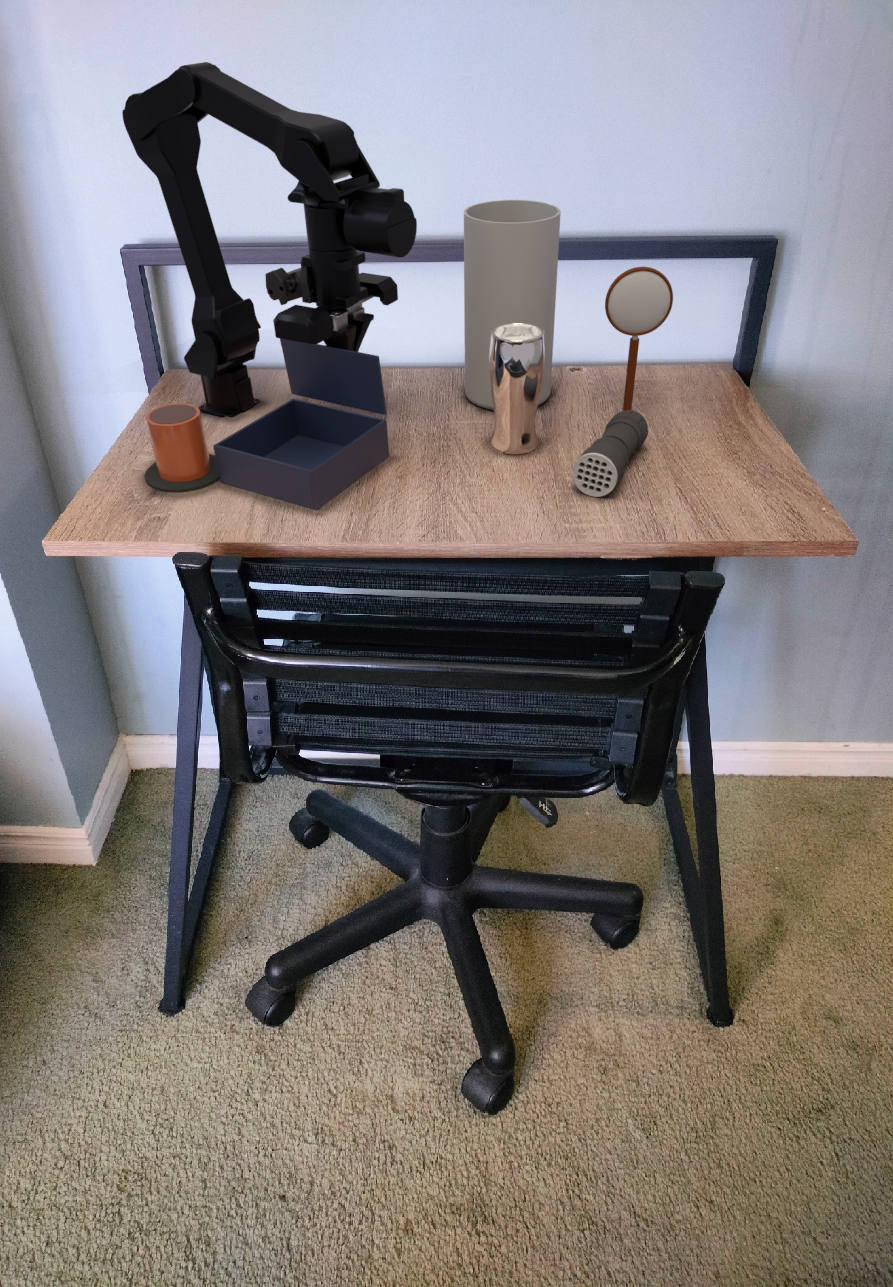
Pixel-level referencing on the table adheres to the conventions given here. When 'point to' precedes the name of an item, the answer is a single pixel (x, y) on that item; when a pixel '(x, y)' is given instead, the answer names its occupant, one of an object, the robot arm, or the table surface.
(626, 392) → the magnifying glass
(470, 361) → the cylinder vase
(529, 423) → the beer glass
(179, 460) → the cup
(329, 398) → the flap
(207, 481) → the disc
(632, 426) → the flashlight
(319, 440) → the carton
